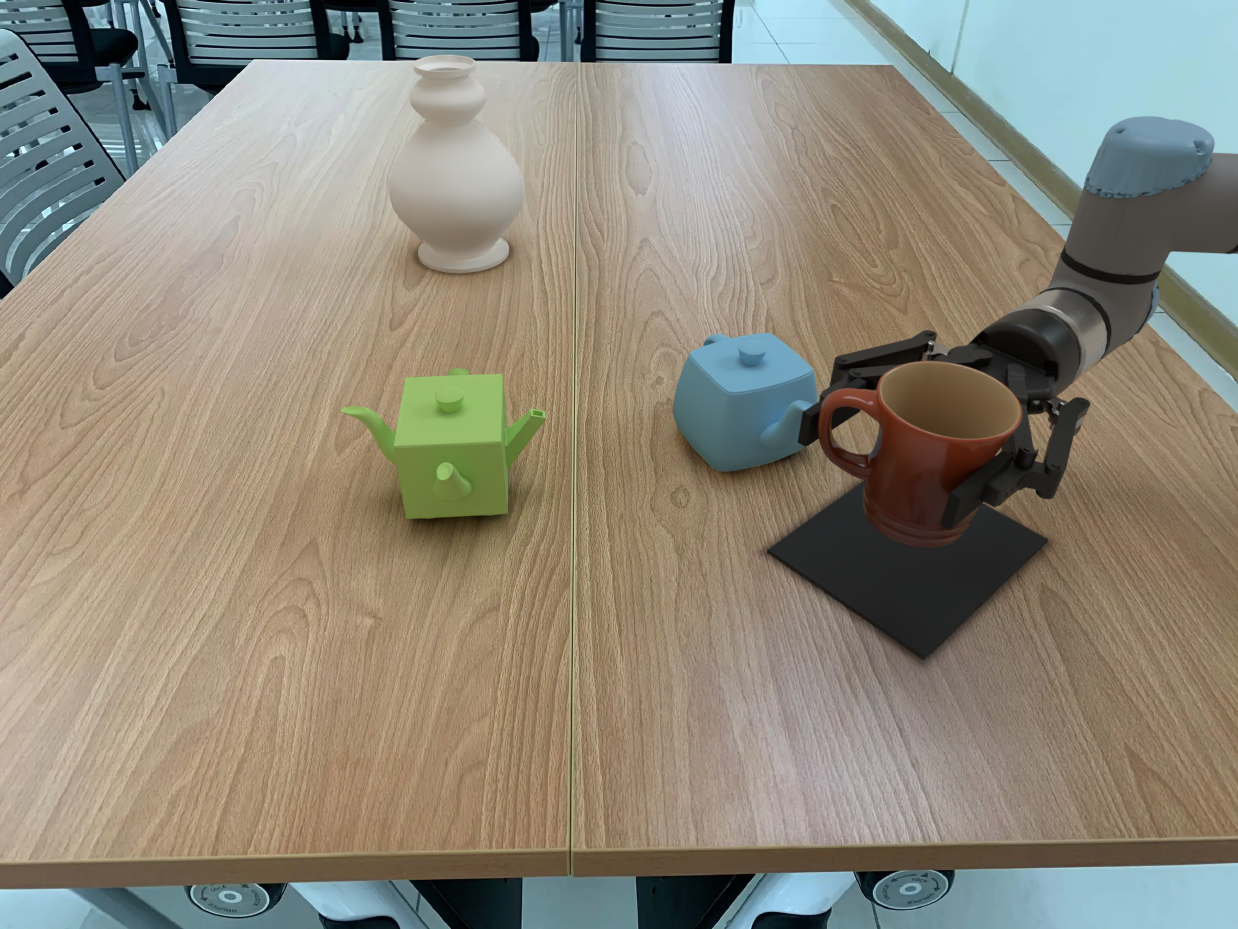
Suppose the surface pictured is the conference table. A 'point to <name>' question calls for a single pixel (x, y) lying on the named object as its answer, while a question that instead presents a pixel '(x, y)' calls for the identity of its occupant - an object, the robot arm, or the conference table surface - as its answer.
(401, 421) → the kettle
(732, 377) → the teapot
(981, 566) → the front mat
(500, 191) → the decorative vase
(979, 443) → the mug
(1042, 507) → the conference table surface
